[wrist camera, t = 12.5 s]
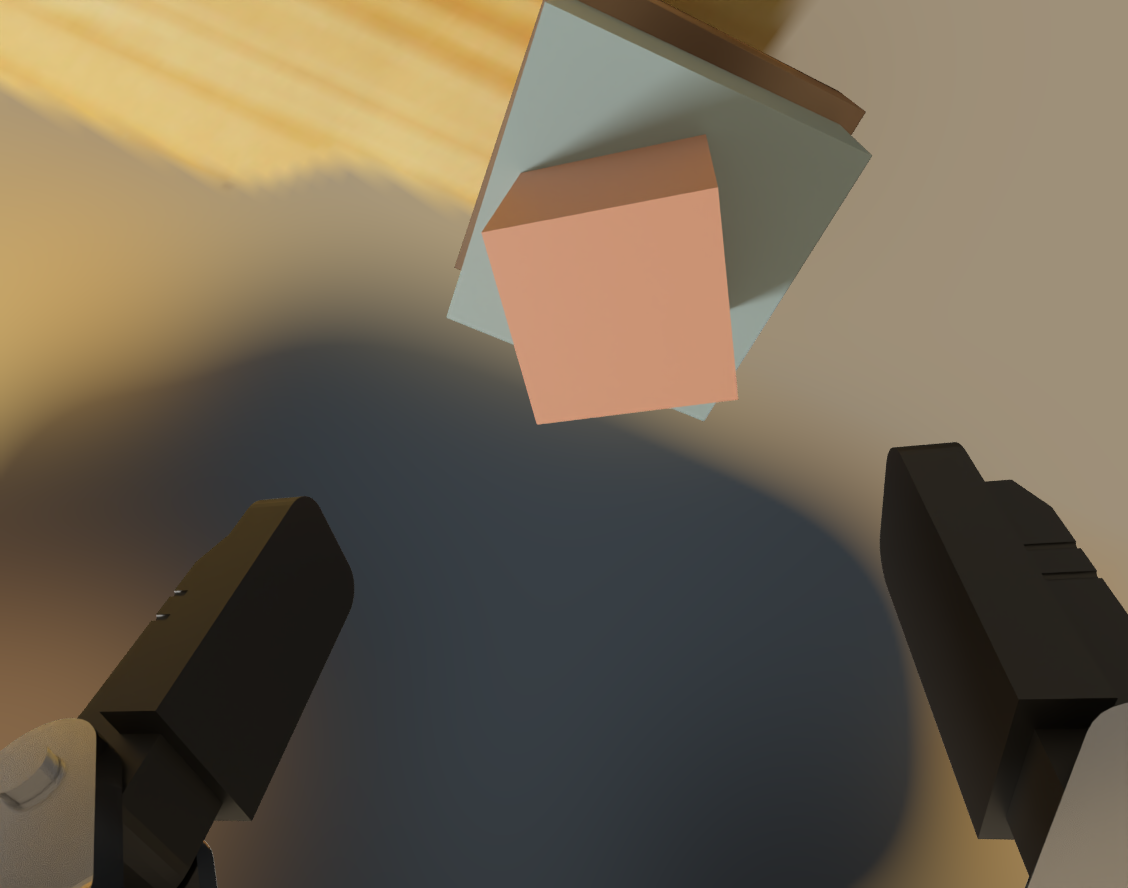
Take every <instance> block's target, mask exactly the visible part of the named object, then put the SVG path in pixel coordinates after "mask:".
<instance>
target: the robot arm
mask: <svg viewBox="0 0 1128 888" xmlns="http://www.w3.org/2000/svg"><path fill="white" fill-rule="evenodd" d="M880 555H881V563H882V569H883V574H884V578H885V582H886V585H887V588H888V591H889V594H890V596H891V599H892V602H893V605H894V608H895V610H896V613H897V616H898V619H899V621H900V624H901V627H902V629H903V632H904V635H905V638H906V641H907V644H908V646H909V649H910V652H911V655H912V657H913V660H914V663H915V666H916V668H917V671H918V674H919V677H920V679H921V682H922V685H923V688H924V690H925V693H926V696H927V699H928V702H929V704H930V707H931V710H932V712H933V716H934V718H935V721H936V724H937V726H938V729H939V732H940V735H941V738H942V741H943V743H944V746H945V749H946V752H947V754H948V757H949V760H950V763H951V765H952V768H953V771H954V774H955V776H956V779H957V782H958V785H959V787H960V790H961V793H962V796H963V799H964V801H965V804H966V807H967V810H968V812H969V815H970V818H971V821H972V824H973V826H974V829H975V832H976V835H977V837H978V839H1011V840H1013V839H1014V840H1015V842H1016V844H1017V847H1018V849H1019V852H1020V854H1021V857H1022V859H1023V862H1024V864H1025V867H1026V869H1027V872H1028V874H1029V878H1028V881H1027V884H1026V886H1025V888H1128V614H1127V613H1126V611H1125V610H1124V608H1123V607H1122V606H1121V604H1120V603H1119V601H1118V600H1117V598H1116V597H1115V596H1114V595H1113V593H1112V592H1111V590H1110V589H1109V587H1108V586H1107V585H1106V583H1105V582H1104V580H1103V579H1102V578H1098V577H1097V574H1096V571H1097V570H1096V569H1095V568H1094V566H1093V565H1092V563H1091V562H1090V560H1089V559H1088V558H1087V556H1086V555H1085V553H1084V552H1083V551H1082V549H1081V548H1079V549H1078V548H1077V547H1076V541H1075V539H1074V538H1073V536H1072V535H1071V534H1070V532H1069V531H1068V529H1067V528H1066V527H1065V525H1064V524H1063V522H1062V521H1061V520H1060V518H1059V517H1058V515H1057V514H1056V513H1055V511H1054V510H1053V508H1052V507H1051V506H1049V505H1048V504H1046V503H1045V502H1044V501H1042V500H1040V499H1039V498H1037V497H1036V496H1035V495H1033V494H1032V493H1030V492H1029V491H1027V490H1026V489H1025V488H1023V487H1022V486H1020V485H1018V484H1017V483H1016V482H1014V481H1013V480H1001V481H989V482H985V481H984V480H983V478H982V477H981V475H980V473H979V472H978V470H977V469H976V467H975V465H974V464H973V462H972V460H971V459H970V457H969V455H968V454H967V452H966V451H965V449H964V448H963V447H962V446H961V445H960V444H959V443H957V442H953V443H941V444H929V445H918V446H906V447H894V448H891V449H890V451H889V453H888V456H887V462H886V473H885V484H884V496H883V507H882V518H881V530H880ZM174 592H175V595H174V596H173V597H169V598H168V600H167V601H166V602H165V604H164V605H163V606H162V608H161V609H160V610H159V612H158V613H157V614H156V616H157V619H156V621H151V622H150V623H149V625H148V626H147V627H146V629H145V630H144V631H143V633H142V634H141V635H140V637H139V638H138V639H137V641H136V642H135V643H134V645H133V646H132V647H131V648H130V650H129V651H128V652H127V654H126V655H125V656H124V658H123V659H122V660H121V662H120V663H119V664H118V666H117V667H116V668H115V670H114V671H113V672H112V674H111V675H110V677H109V678H108V679H107V680H106V682H105V683H104V684H103V686H102V687H101V688H100V690H99V691H98V692H97V694H96V695H95V696H94V697H93V699H92V700H91V701H90V703H89V704H88V705H87V707H86V708H85V709H84V711H83V712H82V713H81V714H80V715H79V717H78V718H67V719H61V720H56V721H53V722H50V723H47V724H45V725H42V726H40V727H38V728H36V729H33V730H32V731H30V732H28V733H26V734H25V735H23V736H21V737H20V738H18V739H17V740H15V741H14V742H12V743H11V744H10V745H8V746H7V747H6V748H4V749H3V750H2V751H1V752H0V888H217V880H216V873H215V865H214V858H213V854H212V850H211V849H210V847H209V845H208V844H207V843H206V842H205V841H204V839H205V837H206V835H207V833H208V831H209V829H210V827H211V826H212V824H213V821H214V820H218V821H221V820H222V821H252V820H253V817H254V815H255V813H256V811H257V809H258V806H259V805H260V803H261V800H262V798H263V796H264V794H265V792H266V790H267V787H268V785H269V783H270V781H271V779H272V777H273V775H274V773H275V770H276V768H277V766H278V764H279V762H280V760H281V758H282V755H283V753H284V751H285V749H286V747H287V745H288V742H289V740H290V738H291V736H292V734H293V732H294V730H295V728H296V725H297V723H298V721H299V719H300V717H301V715H302V713H303V710H304V708H305V706H306V704H307V702H308V700H309V698H310V695H311V693H312V691H313V689H314V687H315V685H316V683H317V680H318V678H319V676H320V674H321V672H322V670H323V667H324V665H325V663H326V661H327V659H328V657H329V655H330V653H331V650H332V648H333V646H334V644H335V642H336V640H337V638H338V635H339V633H340V631H341V629H342V627H343V625H344V623H345V621H346V618H347V616H348V614H349V612H350V609H351V607H352V603H353V598H354V579H353V574H352V571H351V568H350V566H349V564H348V562H347V560H346V558H345V556H344V554H343V552H342V551H341V548H340V546H339V544H338V542H337V540H336V538H335V536H334V534H333V533H332V531H331V529H330V527H329V525H328V523H327V521H326V519H325V517H324V515H323V513H322V511H321V509H320V507H319V505H318V504H317V503H316V502H315V501H314V500H313V499H312V498H310V497H306V496H303V497H290V498H278V499H267V500H259V501H256V502H255V503H253V504H252V505H251V506H250V507H249V508H248V510H247V511H246V512H245V514H244V515H243V516H242V518H241V519H240V520H239V522H238V523H237V525H236V526H235V527H234V529H233V530H232V531H231V533H230V534H229V535H228V536H227V537H225V538H224V539H223V540H222V541H221V542H220V543H218V544H217V545H216V546H215V547H213V548H212V549H211V550H210V551H209V552H208V553H206V554H205V555H204V556H203V557H201V558H200V559H199V560H198V561H197V562H196V563H195V564H194V565H193V567H192V568H191V569H190V571H189V572H188V573H187V575H186V576H185V577H184V579H183V580H182V581H181V583H180V584H179V585H178V587H177V588H176V589H175V590H174Z"/></svg>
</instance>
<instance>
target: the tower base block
mask: <svg viewBox="0 0 1128 888" xmlns="http://www.w3.org/2000/svg"><path fill="white" fill-rule="evenodd" d="M545 1H548V0H543V2H542V5H541V8H540V11H539V14H538V17H537V20H536V23H535V26H534V29H533V32H532V35H531V38H530V41H529V44H528V47H527V50H526V53H525V56H524V59H523V62H522V65H521V68H520V71H519V74H518V77H517V80H516V83H515V86H514V89H513V92H512V95H511V98H510V101H509V104H508V107H507V111H506V114H505V117H504V120H503V123H502V126H501V129H500V132H499V135H498V138H497V141H496V144H495V147H494V150H493V153H492V156H491V159H490V162H489V165H488V168H487V171H486V174H485V177H484V180H483V183H482V186H481V189H480V192H479V195H478V198H477V201H476V204H475V207H474V210H473V213H472V216H471V219H470V222H469V225H468V228H467V231H466V234H465V237H464V240H463V243H462V246H461V249H460V252H459V255H458V259H457V261H456V264H455V268H457V269H459V270H461V269H462V266H463V263H464V260H465V256H466V253H467V250H468V247H469V243H470V240H471V237H472V234H473V231H474V227H475V224H476V221H477V218H478V215H479V211H480V208H481V205H482V202H483V199H484V195H485V192H486V189H487V186H488V183H489V179H490V176H491V173H492V170H493V167H494V163H495V160H496V157H497V154H498V151H499V147H500V144H501V141H502V138H503V135H504V131H505V128H506V125H507V122H508V118H509V115H510V112H511V109H512V106H513V102H514V99H515V96H516V93H517V90H518V86H519V83H520V80H521V77H522V74H523V70H524V67H525V64H526V61H527V58H528V54H529V51H530V48H531V45H532V42H533V38H534V35H535V32H536V29H537V26H538V22H539V19H540V16H541V13H542V10H543V6H544V3H545ZM578 1H580V2H582V3H584V4H586V5H589V6H591V7H593V8H595V9H597V10H599V11H601V12H603V13H605V14H608V15H610V16H612V17H614V18H616V19H618V20H620V21H622V22H624V23H627V24H629V25H631V26H633V27H635V28H637V29H639V30H641V31H643V32H646V33H648V34H650V35H652V36H654V37H656V38H658V39H660V40H662V41H665V42H667V43H669V44H671V45H673V46H675V47H677V48H679V49H681V50H683V51H686V52H688V53H690V54H692V55H694V56H696V57H698V58H700V59H702V60H705V61H707V62H709V63H711V64H713V65H715V66H717V67H719V68H721V69H724V70H726V71H728V72H730V73H732V74H734V75H736V76H738V77H740V78H743V79H745V80H747V81H749V82H751V83H753V84H755V85H757V86H759V87H762V88H764V89H766V90H768V91H770V92H772V93H774V94H776V95H778V96H781V97H783V98H785V99H787V100H789V101H791V102H793V103H795V104H797V105H800V106H802V107H804V108H806V109H808V110H810V111H812V112H814V113H816V114H819V115H821V116H823V117H825V118H827V119H829V120H831V121H833V122H835V123H838V124H840V125H841V126H842V127H843V128H844V129H845V130H846V131H847V132H848V133H849V134H850V135H852V133H853V132H854V130H855V128H856V127H857V125H858V123H859V122H860V120H861V119H862V117H863V115H864V114H865V111H864V110H862V109H861V108H860V107H859V106H857V105H856V104H855V103H853V102H852V101H851V100H849V99H848V98H847V97H846V96H844V95H843V94H842V93H840V92H839V91H838V90H836V89H834V88H832V87H830V86H828V85H826V84H824V83H822V82H820V81H818V80H816V79H814V78H812V77H810V76H808V75H806V74H804V73H803V72H801V71H799V70H797V69H795V68H793V67H791V66H789V65H787V64H785V63H783V62H781V61H779V60H777V59H775V58H773V57H770V56H768V55H766V54H764V53H762V52H760V51H758V50H756V49H754V48H752V47H751V46H749V45H747V44H745V43H743V42H741V41H739V40H737V39H735V38H733V37H731V36H729V35H727V34H725V33H723V32H721V31H719V30H717V29H715V28H714V27H712V26H710V25H708V24H706V23H704V22H702V21H700V20H698V19H696V18H694V17H692V16H690V15H688V14H686V13H684V12H682V11H680V10H678V9H676V8H675V7H673V6H671V5H669V4H667V3H665V2H663V1H661V0H578Z"/></svg>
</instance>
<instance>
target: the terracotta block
mask: <svg viewBox="0 0 1128 888" xmlns="http://www.w3.org/2000/svg"><path fill="white" fill-rule="evenodd" d="M481 233H482V237H483V240H484V244H485V247H486V251H487V254H488V257H489V261H490V264H491V268H492V271H493V275H494V278H495V281H496V285H497V288H498V292H499V295H500V299H501V302H502V306H503V309H504V312H505V316H506V319H507V323H508V326H509V330H510V333H511V337H512V340H513V343H514V347H515V350H516V353H517V357H518V360H519V364H520V367H521V371H522V374H523V378H524V381H525V384H526V388H527V392H528V395H529V398H530V402H531V405H532V409H533V412H534V416H535V419H536V422H537V424H545V423H553V422H562V421H570V420H578V419H586V418H593V417H602V416H610V415H617V414H626V413H634V412H642V411H650V410H658V409H667V408H675V407H683V406H691V405H699V404H707V403H715V402H723V401H730V400H738V391H737V381H736V370H735V359H734V349H733V339H732V328H731V318H730V307H729V297H728V286H727V276H726V265H725V255H724V244H723V234H722V223H721V213H720V202H719V192H718V185H717V180H716V176H715V172H714V167H713V163H712V159H711V154H710V150H709V146H708V141H707V137H706V134H704V135H699V136H695V137H690V138H685V139H680V140H676V141H671V142H666V143H661V144H657V145H652V146H647V147H642V148H637V149H633V150H628V151H623V152H618V153H614V154H609V155H604V156H599V157H595V158H590V159H585V160H580V161H575V162H571V163H566V164H561V165H556V166H552V167H547V168H542V169H537V170H533V171H528V172H523V173H520V175H519V176H518V178H517V179H516V181H515V182H514V184H513V185H512V187H511V188H510V190H509V191H508V193H507V194H506V196H505V197H504V199H503V200H502V202H501V204H500V205H499V207H498V208H497V210H496V211H495V213H494V214H493V216H492V217H491V219H490V220H489V222H488V223H487V225H486V226H485V228H484V229H483V231H482V232H481Z"/></svg>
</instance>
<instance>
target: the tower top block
mask: <svg viewBox="0 0 1128 888" xmlns="http://www.w3.org/2000/svg"><path fill="white" fill-rule="evenodd" d="M704 134H706V137H707V141H708V146H709V150H710V154H711V159H712V163H713V167H714V172H715V176H716V180H717V185H718V192H719V202H720V213H721V223H722V234H723V244H724V255H725V265H726V276H727V286H728V297H729V307H730V318H731V328H732V339H733V349H734V359H735V370H737V368H738V367H739V365H740V364H741V362H742V360H743V359H744V357H745V356H746V354H747V353H748V351H749V349H750V348H751V346H752V345H753V343H754V342H755V340H756V338H757V337H758V335H759V334H760V332H761V331H762V329H763V327H764V326H765V324H766V323H767V321H768V319H769V318H770V316H771V315H772V313H773V312H774V310H775V308H776V307H777V305H778V304H779V302H780V300H781V299H782V297H783V296H784V294H785V293H786V291H787V289H788V288H789V286H790V285H791V283H792V281H793V280H794V278H795V277H796V275H797V274H798V272H799V270H800V269H801V267H802V266H803V264H804V263H805V261H806V259H807V258H808V256H809V254H810V253H811V251H812V250H813V248H814V247H815V245H816V243H817V242H818V241H819V239H820V237H821V236H822V234H823V232H824V231H825V229H826V228H827V226H828V225H829V223H830V221H831V220H832V218H833V217H834V215H835V214H836V212H837V210H838V209H839V207H840V206H841V204H842V203H843V201H844V199H845V198H846V196H847V195H848V193H849V191H850V190H851V188H852V187H853V185H854V184H855V182H856V181H857V179H858V177H859V176H860V174H861V173H862V171H863V169H864V168H865V166H866V165H867V163H868V162H869V160H870V158H871V157H872V155H871V154H870V153H869V152H868V151H867V150H866V149H865V148H864V147H863V146H862V145H860V144H859V143H858V142H857V141H856V140H855V139H854V138H853V137H852V136H851V135H850V134H849V133H848V132H847V131H846V130H845V129H844V128H843V127H842V126H841V125H840V124H838V123H835V122H833V121H831V120H829V119H827V118H825V117H823V116H821V115H819V114H816V113H814V112H812V111H810V110H808V109H806V108H804V107H802V106H800V105H797V104H795V103H793V102H791V101H789V100H787V99H785V98H783V97H781V96H778V95H776V94H774V93H772V92H770V91H768V90H766V89H764V88H762V87H759V86H757V85H755V84H753V83H751V82H749V81H747V80H745V79H743V78H740V77H738V76H736V75H734V74H732V73H730V72H728V71H726V70H724V69H721V68H719V67H717V66H715V65H713V64H711V63H709V62H707V61H705V60H702V59H700V58H698V57H696V56H694V55H692V54H690V53H688V52H686V51H683V50H681V49H679V48H677V47H675V46H673V45H671V44H669V43H667V42H665V41H662V40H660V39H658V38H656V37H654V36H652V35H650V34H648V33H646V32H643V31H641V30H639V29H637V28H635V27H633V26H631V25H629V24H627V23H624V22H622V21H620V20H618V19H616V18H614V17H612V16H610V15H608V14H605V13H603V12H601V11H599V10H597V9H595V8H593V7H591V6H589V5H586V4H584V3H582V2H580V1H578V0H548V1H545V3H544V6H543V10H542V13H541V16H540V19H539V22H538V26H537V29H536V32H535V35H534V38H533V42H532V45H531V48H530V51H529V54H528V58H527V61H526V64H525V67H524V70H523V74H522V77H521V80H520V83H519V86H518V90H517V93H516V96H515V99H514V102H513V106H512V109H511V112H510V115H509V118H508V122H507V125H506V128H505V131H504V135H503V138H502V141H501V144H500V147H499V151H498V154H497V157H496V160H495V163H494V167H493V170H492V173H491V176H490V179H489V183H488V186H487V189H486V192H485V195H484V199H483V202H482V205H481V208H480V211H479V215H478V218H477V221H476V224H475V227H474V231H473V234H472V237H471V240H470V243H469V247H468V250H467V253H466V256H465V260H464V263H463V266H462V269H461V272H460V276H459V279H458V282H457V285H456V288H455V292H454V295H453V298H452V301H451V304H450V308H449V311H448V314H447V318H449V319H451V320H454V321H456V322H459V323H461V324H464V325H466V326H469V327H471V328H474V329H476V330H478V331H481V332H483V333H486V334H489V335H491V336H493V337H496V338H498V339H501V340H504V341H506V342H508V343H511V344H513V345H514V343H513V340H512V337H511V333H510V330H509V326H508V323H507V319H506V316H505V312H504V309H503V306H502V302H501V299H500V295H499V292H498V288H497V285H496V281H495V278H494V275H493V271H492V268H491V264H490V261H489V257H488V254H487V251H486V247H485V244H484V240H483V237H482V233H481V232H482V231H483V229H484V228H485V226H486V225H487V223H488V222H489V220H490V219H491V217H492V216H493V214H494V213H495V211H496V210H497V208H498V207H499V205H500V204H501V202H502V200H503V199H504V197H505V196H506V194H507V193H508V191H509V190H510V188H511V187H512V185H513V184H514V182H515V181H516V179H517V178H518V176H519V175H520V173H523V172H528V171H533V170H537V169H542V168H547V167H552V166H556V165H561V164H566V163H571V162H575V161H580V160H585V159H590V158H595V157H599V156H604V155H609V154H614V153H618V152H623V151H628V150H633V149H637V148H642V147H647V146H652V145H657V144H661V143H666V142H671V141H676V140H680V139H685V138H690V137H695V136H699V135H704ZM715 403H716V402H715ZM715 403H707V404H699V405H691V406H683V407H675V408H672V409H675V410H677V411H680V412H682V413H685V414H687V415H690V416H692V417H694V418H697V419H700V420H702V421H704V420H705V419H706V417H707V416H708V414H709V413H710V411H711V409H712V408H713V406H714V405H715Z"/></svg>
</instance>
